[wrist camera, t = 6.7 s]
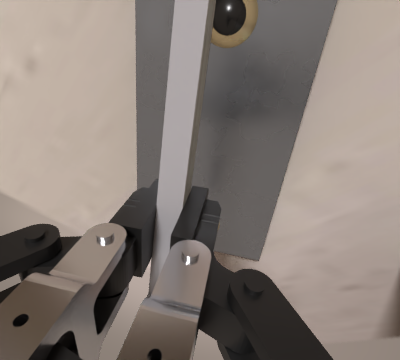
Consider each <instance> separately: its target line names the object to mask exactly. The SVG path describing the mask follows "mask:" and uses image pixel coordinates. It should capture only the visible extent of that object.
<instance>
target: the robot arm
mask: <svg viewBox="0 0 400 360" xmlns="http://www.w3.org/2000/svg"><path fill="white" fill-rule="evenodd" d="M158 182H159V179H156V180H155V181H154V182H153V183H152V185H151V186H150V187H149V188H145V187H142V188H140V189H138V190H137V191H135V192H133V194H132V195H131V196H130V197H129V199H128V200H127V201H126V202H125V203H124V205H123V206H122V207H121V208H120V209H119V211H118V212H117V213H116V214H115V215H114V217H113V218H112V219H111V220H110V221H109V223H104V224H99V225H96V226H94V227H92V228H90V229H89V230H88V231H87V232H86V233H85V234H84V235H83V236H79V237H60V233H59V230H58V228H57V227H55V226H53V225H50V224H37V225H32V226H29V227H26V228H23V229H20V230H17V231H14V232H11V233H9V234H6V235H3V236H0V282H1V281H3V280H5V279H7V278H9V277H12V276H14V275H16V274H19V276H20V279H21V283H18V284H16V285H14V286H12V287H10V288H8V289H6V290H4V291H2V292H0V360H98V359H99V355H100V350H101V346H102V343H103V341H104V338H105V337H106V335H107V333H108V331H109V329H110V327H111V325H112V323H113V321H114V319H115V317H116V315H117V313H118V311H119V309H120V307H121V305H122V303H123V301H124V299H125V297H126V295H127V293H128V290H129V288H128V286H129V282H130V281H131V279H132V277H133V276H137V277H142V276H143V274H144V272H145V270H146V268H147V266H148V264H149V262H150V260H151V257H152V252H153V241H154V230H155V218H156V207H157V205H156V204H157V193H158ZM208 193H209V188H203V187H198V186H192V189H191V191H190V194H189V196H188V198H187V200H186V203H185V205H184V207H183V209H182V211H181V213H180V216H179V218H178V220H177V223H176V225H175V227H174V229H173V232H172V234H171V239H170V251H169V254H168V256H167V258H166V261H165V263H164V265H163V268H162V270H161V273H160V275H159V277H158V280H157V282H156V285H155V287H154V289H153V292H152V294H151V296H150V298H145V299H144V300H143V302H142V303H141V305H140V307H139V310H138V312H137V314H136V316H135V319H134V321H133V323H132V325H131V328H130V330H129V332H128V334H127V337H126V339H125V341H124V344H123V346H122V348H121V350H120V352H119V355H118V357H117V359H116V360H193V354H194V349H195V345H196V339H197V334H198V330H199V329H200V330H202V331H203V332H205V333H206V334H208V335H209V336H211V337H212V338H214V339H215V340H217V343H218V347H219V350H220V352H221V354H222V356H223V358H224V360H333V358H332V357H331V356H330V355H329V353H328V352H327V351H326V350H325V348H324V347H323V346H322V344H321V343H320V342H319V340H318V339H317V338H316V337H315V335H314V334H313V333H312V331H311V330H310V329H309V328H308V326H307V325H306V324H305V322H304V321H303V320H302V319H301V317H300V316H299V315H298V313H297V312H296V311H295V310H294V308H293V307H292V306H291V304H290V303H289V302H288V301H287V299H286V298H285V297H284V295H283V294H282V293H281V292H280V290H279V289H278V288H277V286H276V285H275V284H274V283H273V281H272V280H271V279H270V278H269V277H268V276H267V275H265V274H264V273H262V272H260V271H257V270H253V269H242V270H239V271H237V272H235V273H234V272H232V271H230V270H228V269H226V268H224V267H223V266H222V265H221V264H220V263H219V262H218V261H217V260H216V258H215V256H214V247H215V242H216V237H217V231H218V226H219V220H220V214H221V207H220V205H219V202H218V201H213V200H208Z"/></svg>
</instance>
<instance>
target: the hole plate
mask: <svg viewBox="0 0 400 360" xmlns="http://www.w3.org/2000/svg"><path fill="white" fill-rule="evenodd" d="M336 3H337V0H216V7H215V14H214V22H213V29H212V37H211V44H210V51H209V59H208V66H207V74H206V81H205V88H204V96H203V103H202V111H201V118H200V125H199V133H198V140H197V148H196V155H195V162H194V170H193V177H192V185H191V189H192V186H198V187H203V188H209V193H208V200H213V201H218V202H219V205H220V207H221V214H220V220H219V226H218V231H217V237H216V242H215V247H214V251H217V252H221V253H226V254H230V255H235V256H239V257H244V258H249V259H253V260H258V261H259V258H260V255H261V252H262V248H263V245H264V242H265V238H266V235H267V232H268V228H269V225H270V222H271V219H272V215H273V212H274V209H275V205H276V202H277V199H278V195H279V192H280V189H281V185H282V182H283V179H284V175H285V172H286V169H287V165H288V162H289V159H290V155H291V152H292V149H293V145H294V142H295V139H296V135H297V132H298V129H299V126H300V122H301V119H302V116H303V112H304V109H305V106H306V102H307V99H308V96H309V92H310V89H311V86H312V82H313V79H314V76H315V72H316V69H317V66H318V62H319V59H320V56H321V52H322V49H323V46H324V42H325V39H326V36H327V32H328V29H329V26H330V23H331V19H332V16H333V13H334V9H335V6H336ZM174 5H175V0H135V10H136V110H137V190H138V189H140V188H142V187H145V188H149V187H150V186H151V185H152V183H153V182H154V181H155V180H156V179H159V171H160V160H161V148H162V137H163V126H164V115H165V104H166V93H167V82H168V71H169V60H170V49H171V38H172V27H173V16H174Z"/></svg>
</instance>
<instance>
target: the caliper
mask: <svg viewBox="0 0 400 360" xmlns="http://www.w3.org/2000/svg"><path fill="white" fill-rule="evenodd" d="M215 7H216V0H175V5H174V16H173V27H172V38H171V49H170V60H169V71H168V82H167V93H166V104H165V115H164V126H163V137H162V148H161V160H160V171H159V182H158V193H157V204H156V205H157V207H156V218H155V230H154V241H153V252H152V260H151V272H150V283H149V293H148V295H147V298H150V296H151V294H152V292H153V289H154V287H155V285H156V282H157V280H158V277H159V275H160V273H161V270H162V268H163V265H164V263H165V261H166V258H167V256H168V254H169V251H170V239H171V234H172V232H173V229H174V227H175V225H176V223H177V220H178V218H179V216H180V213H181V211H182V209H183V207H184V205H185V203H186V200H187V198H188V196H189V194H190V191H191V185H192V177H193V170H194V162H195V155H196V148H197V140H198V133H199V125H200V118H201V111H202V103H203V96H204V88H205V81H206V74H207V66H208V59H209V51H210V44H211V37H212V29H213V22H214V14H215Z"/></svg>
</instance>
